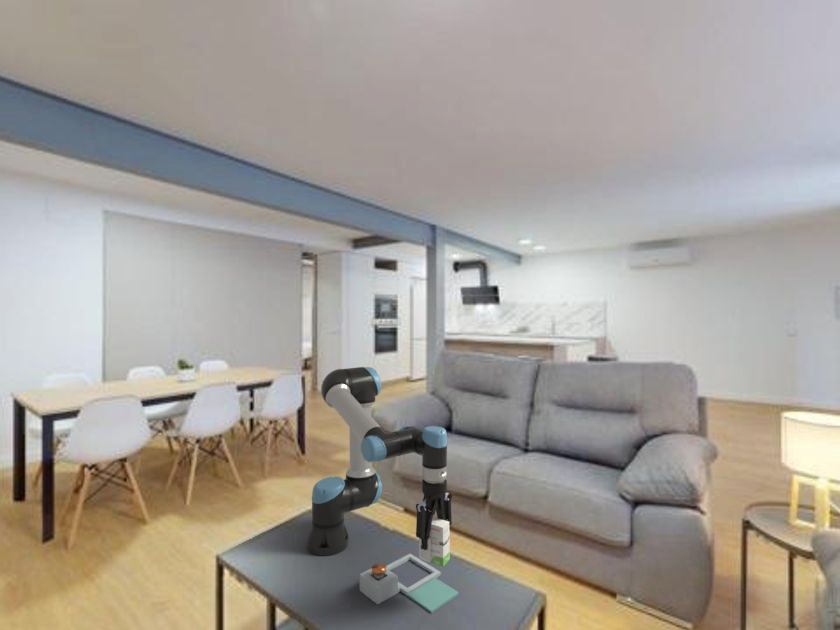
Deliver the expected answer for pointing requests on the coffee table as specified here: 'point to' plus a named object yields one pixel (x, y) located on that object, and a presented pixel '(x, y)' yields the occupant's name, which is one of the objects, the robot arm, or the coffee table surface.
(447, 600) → the mat
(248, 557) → the coffee table surface
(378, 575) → the plunger
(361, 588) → the housing
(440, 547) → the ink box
